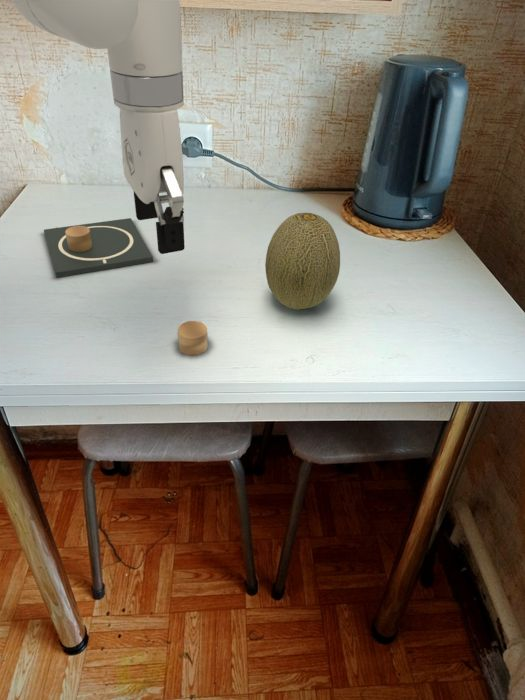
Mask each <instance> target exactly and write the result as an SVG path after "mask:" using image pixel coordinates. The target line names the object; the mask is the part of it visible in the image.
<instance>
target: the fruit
mask: <svg viewBox="0 0 525 700" xmlns="http://www.w3.org/2000/svg"><path fill="white" fill-rule="evenodd" d="M338 240H339V239H338V237H337V235H336V232H335V230H334V228H333V226H332V224H331V223H330V222H329V221H328V220H327V219H326V218H324V217H323V216H321V215H319V214H315V213H312V212H297V213H295V214H292V215H290V216H288V217H287V218H286V219H285V220H283V221H282V222H281V223H280V225H278V227H277V229H276V230H275V231H274V232H273V235H272V236H271V239H270V241H269V244H268V246H267V251H266V255H265V264H264V267H265V268H264V269H265V278H266V280H267V285H268V288H269V290H270V293H272V295H273V297H274V298H275V299H276V300H277V301H278V303H280V304H282V305H283V306H285V307H286V308H288V309H291V310H307V309H310V308H314V307H315V306H318V305H320V304H321V303H322V302H324V300H326V299H327V298H328V297H329V296H330V294H331V293H332V291H333V289H334V287H335V285H336V283H337V281H338V278H339V276H340V270H341V250H340V244H339V241H338Z"/></svg>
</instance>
